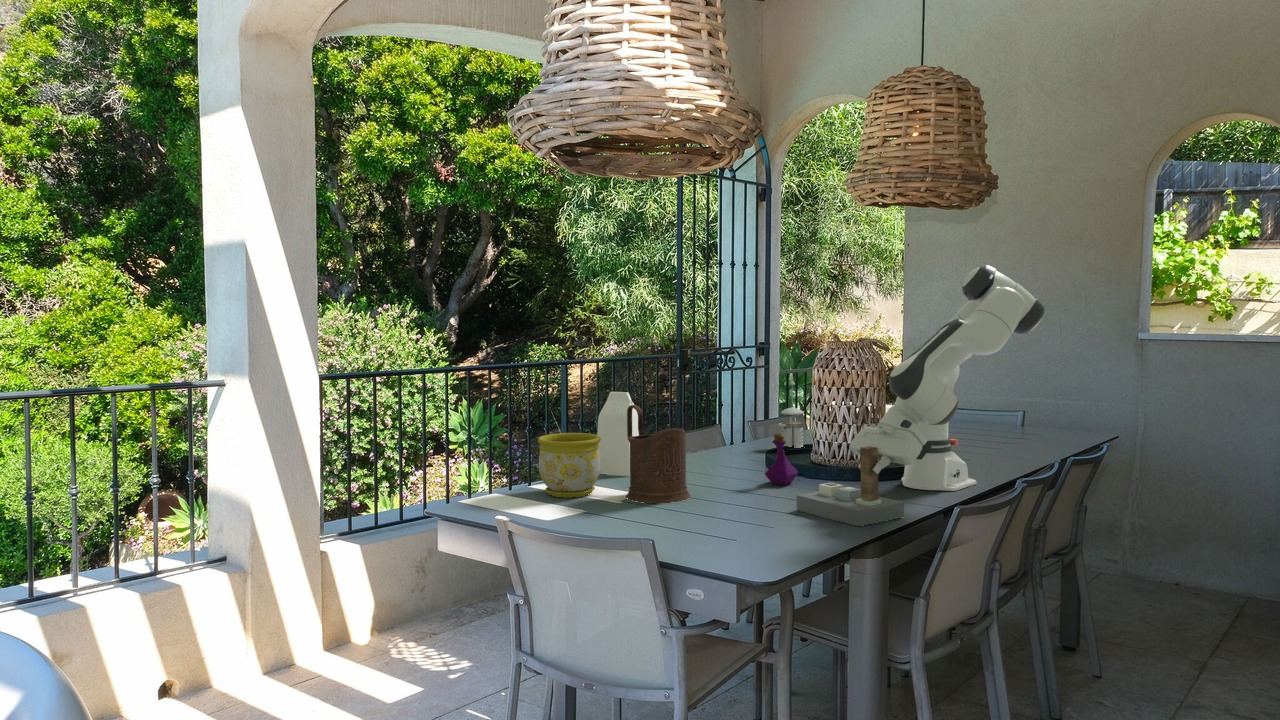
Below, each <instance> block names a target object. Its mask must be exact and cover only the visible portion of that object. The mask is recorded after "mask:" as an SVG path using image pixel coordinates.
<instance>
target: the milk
mask: <svg viewBox="0 0 1280 720" xmlns="http://www.w3.org/2000/svg"><path fill="white" fill-rule="evenodd" d="M630 405H635V404H634V402H633V400H632V398H631V395H630V393H629V391H627V392H626V391H625V392H624V391H610V392H609V394H608V396H607V400H606V401H605V403H604V405H603V407H602V409H601V410H600V412H599V414H598V418H597V433H596V435H598V436H600V438H601V440H600V442H599V446H600V447H599V453H600V462H601V466H600V473H599V475H600V474H606V475H605V476H613V477H614V476H617V477H629V476H630V443H629V440H628V437H627V408H628V407H629V406H630ZM632 436H639V432H638V414H637V411H636V410H635V409H634V408H633V409H632Z"/></svg>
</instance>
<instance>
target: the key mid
mask: <svg viewBox="0 0 1280 720" xmlns="http://www.w3.org/2000/svg"><path fill="white" fill-rule="evenodd" d="M859 498H861V488H857V487H853V486H843V488H838V489H837V499H841V500H845V501H849V502H851V501H856V499H859Z"/></svg>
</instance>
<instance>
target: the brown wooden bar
mask: <svg viewBox="0 0 1280 720" xmlns="http://www.w3.org/2000/svg"><path fill="white" fill-rule="evenodd" d="M859 457H860V459H859V460H860V463H861V470H860V489H861V499H865V500H869V501H870V500H876V499H879V498H878V496H879V473H878V474H876V473H873V472H872V471H871V467H872V466H873V464H877V463H878V462H879V459H878V448H877V447H871V446H867V447H860V456H859Z"/></svg>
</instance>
